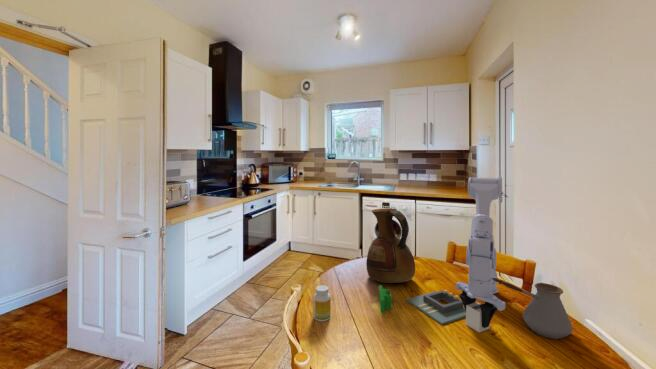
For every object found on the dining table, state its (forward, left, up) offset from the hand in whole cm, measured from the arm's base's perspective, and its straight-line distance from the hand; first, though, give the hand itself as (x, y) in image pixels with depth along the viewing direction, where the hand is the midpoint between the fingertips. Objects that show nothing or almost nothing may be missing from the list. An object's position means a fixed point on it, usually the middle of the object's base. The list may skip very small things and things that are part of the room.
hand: (477, 321), depth 82 cm
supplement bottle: (+40, -24, -2) cm, 47 cm away
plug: (0, 0, -1) cm, 1 cm away
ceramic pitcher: (+3, -38, -2) cm, 38 cm away
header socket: (+2, -13, -1) cm, 13 cm away
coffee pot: (-12, +7, -2) cm, 14 cm away
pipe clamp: (+17, -22, -2) cm, 28 cm away
